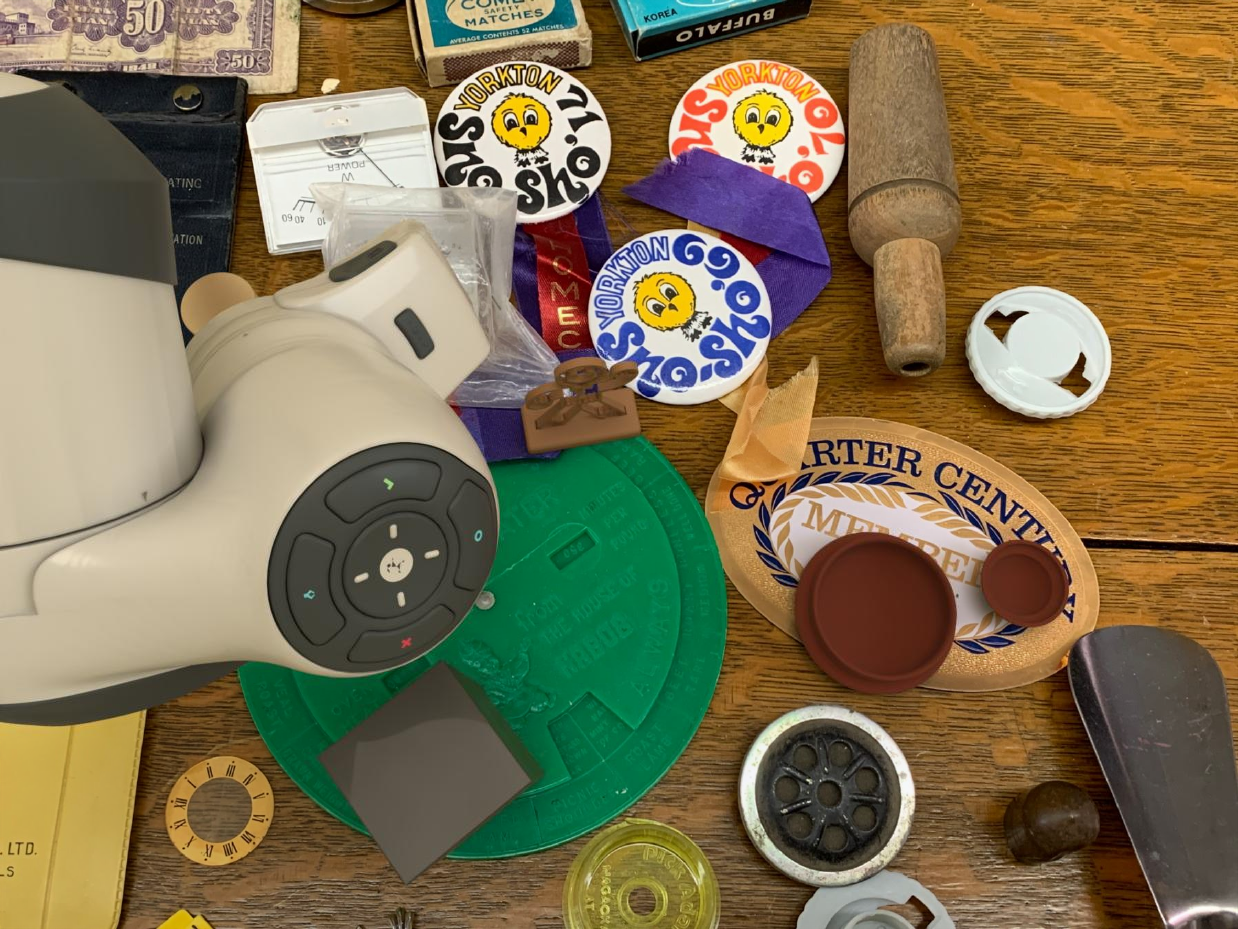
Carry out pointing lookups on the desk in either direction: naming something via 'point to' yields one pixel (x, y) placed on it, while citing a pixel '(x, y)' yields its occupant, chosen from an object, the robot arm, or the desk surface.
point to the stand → (430, 768)
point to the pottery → (909, 606)
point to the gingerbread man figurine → (581, 406)
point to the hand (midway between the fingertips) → (244, 335)
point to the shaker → (213, 298)
